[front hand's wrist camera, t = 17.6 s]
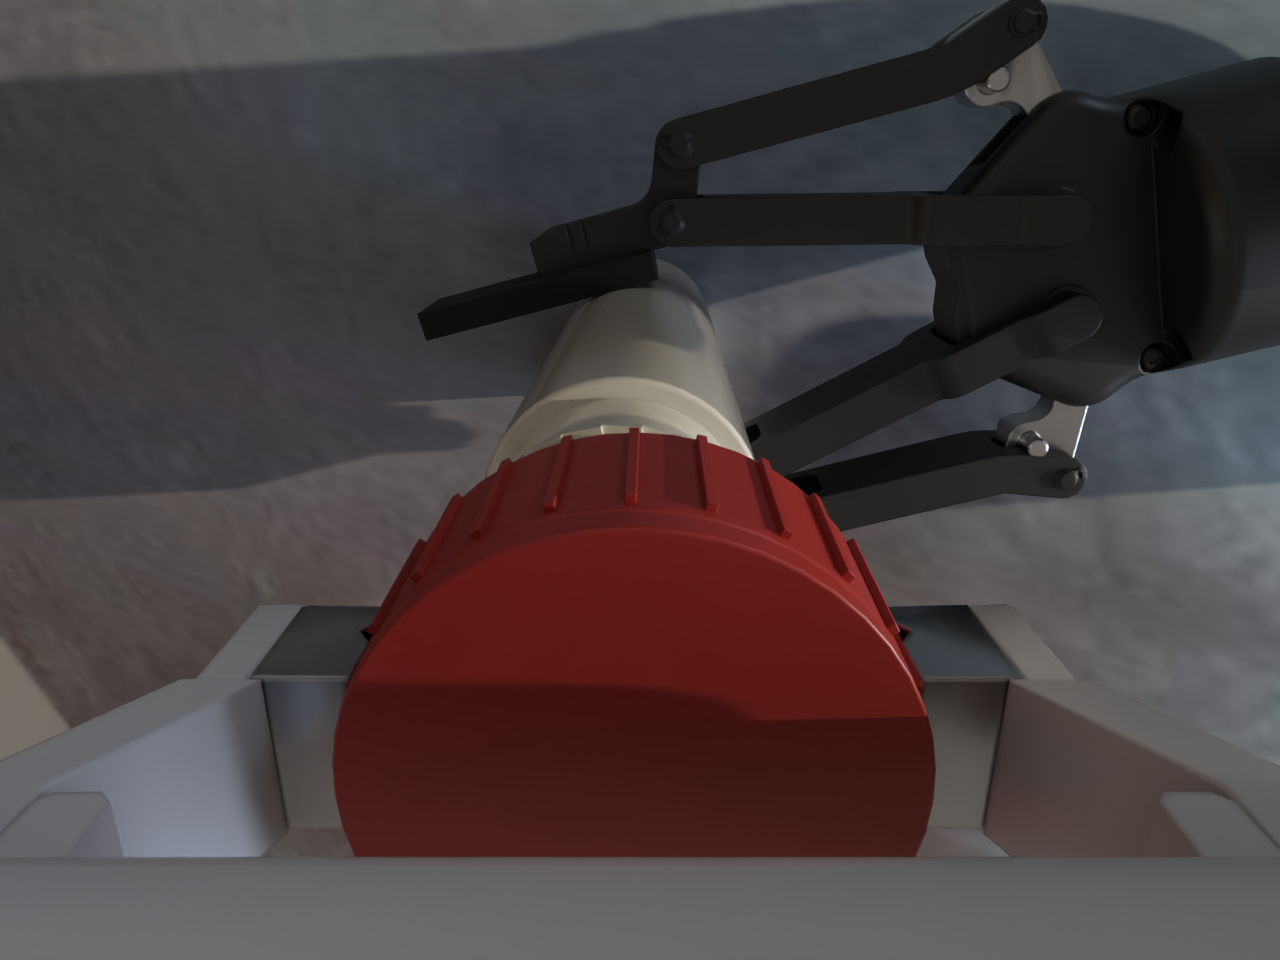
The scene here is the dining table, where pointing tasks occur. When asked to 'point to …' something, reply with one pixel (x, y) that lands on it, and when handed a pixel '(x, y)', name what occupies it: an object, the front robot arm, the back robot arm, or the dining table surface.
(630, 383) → the cream cylinder
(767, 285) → the dining table surface
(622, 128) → the dining table surface
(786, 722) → the lid
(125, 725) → the front robot arm
